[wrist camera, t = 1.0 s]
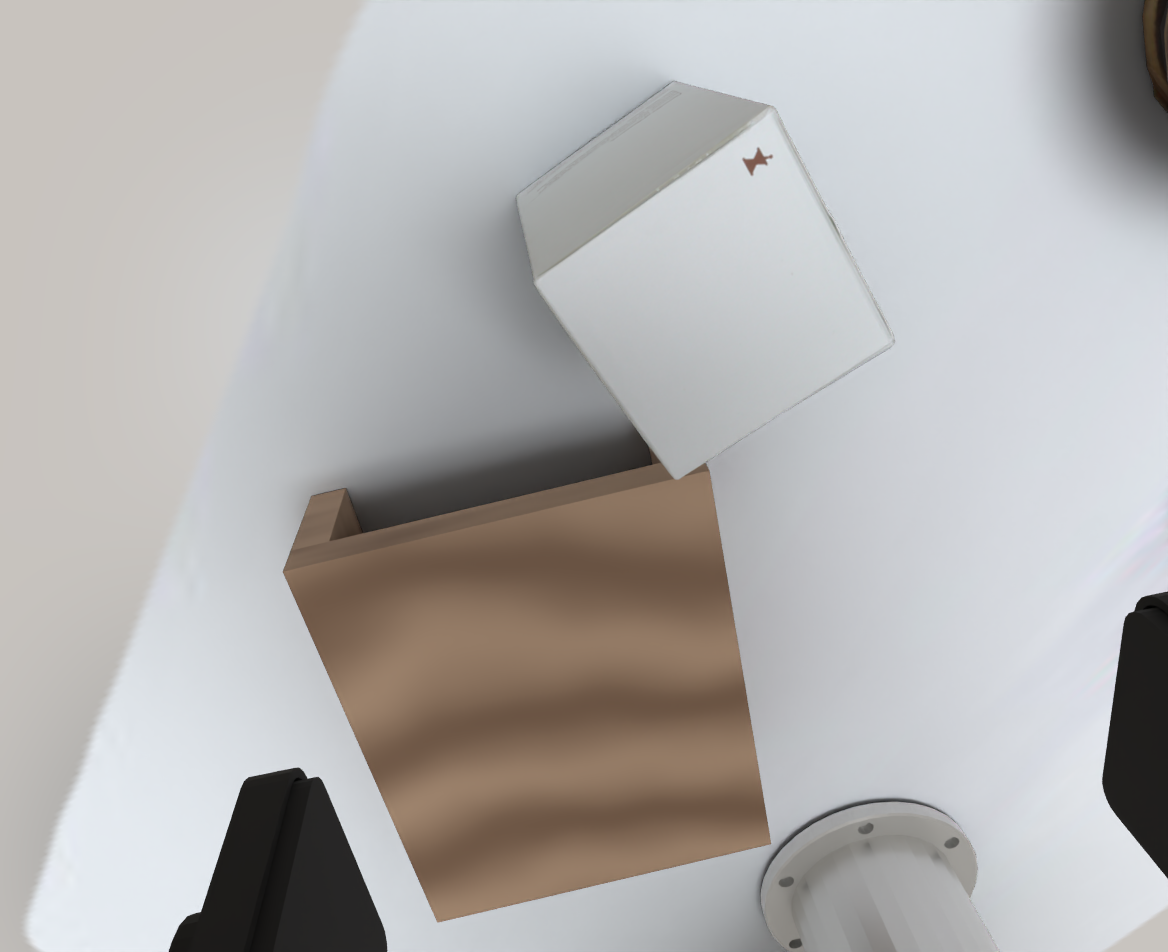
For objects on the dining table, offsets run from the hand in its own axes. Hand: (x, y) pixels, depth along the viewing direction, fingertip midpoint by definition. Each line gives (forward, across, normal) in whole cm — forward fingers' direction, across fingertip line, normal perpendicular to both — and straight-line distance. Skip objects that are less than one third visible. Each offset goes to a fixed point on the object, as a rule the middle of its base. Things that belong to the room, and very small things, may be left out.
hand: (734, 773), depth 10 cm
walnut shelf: (+27, +4, +18) cm, 32 cm away
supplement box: (+27, -4, -1) cm, 27 cm away
